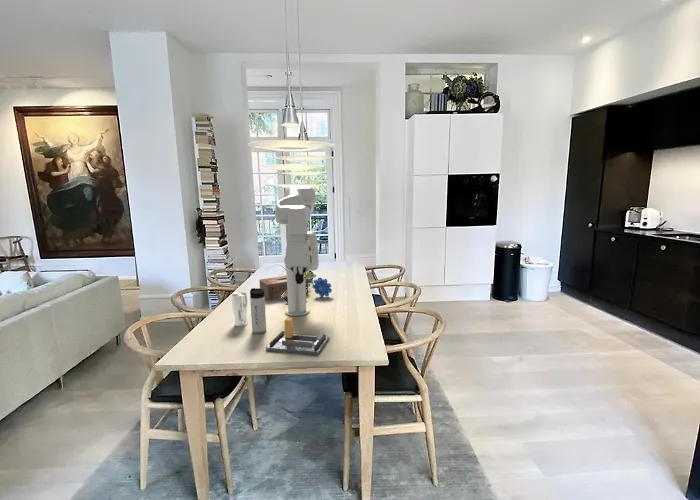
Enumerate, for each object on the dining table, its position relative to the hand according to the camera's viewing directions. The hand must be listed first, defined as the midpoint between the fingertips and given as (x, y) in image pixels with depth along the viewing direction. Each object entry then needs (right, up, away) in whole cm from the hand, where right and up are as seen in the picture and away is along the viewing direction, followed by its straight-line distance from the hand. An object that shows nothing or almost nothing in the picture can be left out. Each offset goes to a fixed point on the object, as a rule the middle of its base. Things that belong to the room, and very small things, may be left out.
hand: (299, 283), depth 148 cm
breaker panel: (-1, -26, +5) cm, 27 cm away
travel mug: (-21, -24, +19) cm, 38 cm away
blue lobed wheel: (+4, -15, +70) cm, 72 cm away
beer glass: (-32, -23, +29) cm, 49 cm away
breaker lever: (-5, -24, +5) cm, 25 cm away
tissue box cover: (-20, -14, +78) cm, 82 cm away
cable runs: (-1, -25, +4) cm, 25 cm away
